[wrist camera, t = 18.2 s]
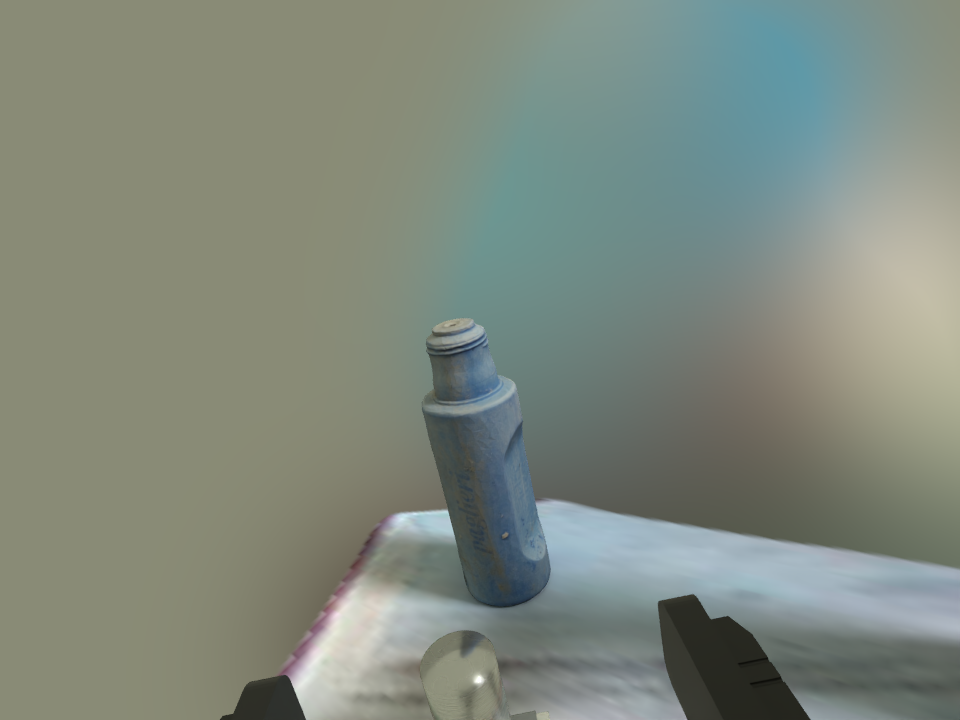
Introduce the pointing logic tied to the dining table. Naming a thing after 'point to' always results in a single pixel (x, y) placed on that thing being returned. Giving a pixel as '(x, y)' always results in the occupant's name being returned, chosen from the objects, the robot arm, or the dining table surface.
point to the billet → (463, 679)
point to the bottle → (484, 467)
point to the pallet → (531, 716)
